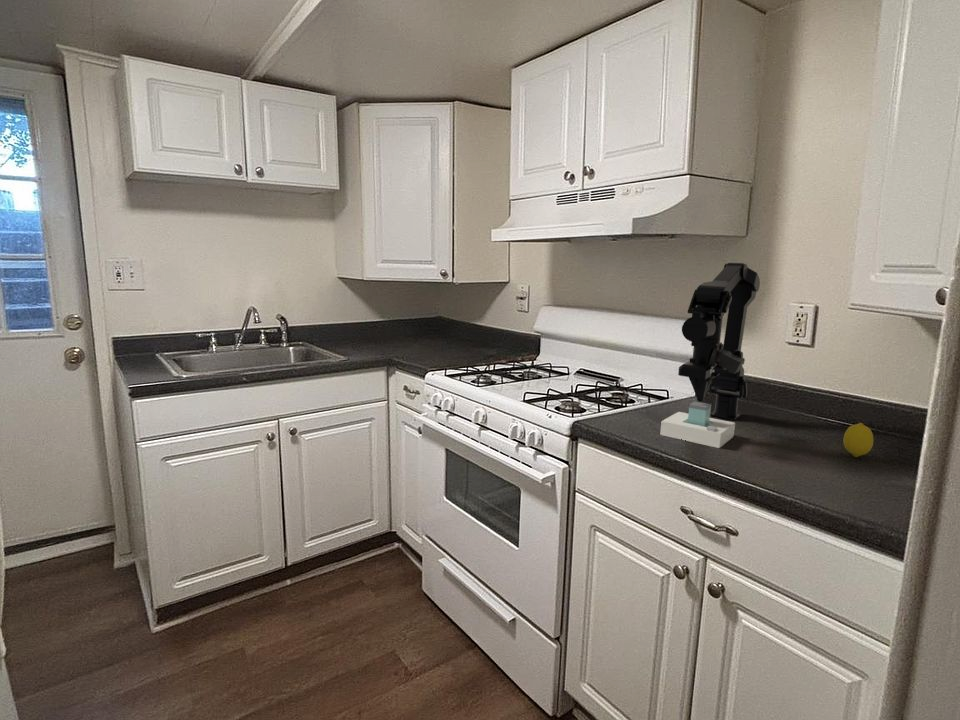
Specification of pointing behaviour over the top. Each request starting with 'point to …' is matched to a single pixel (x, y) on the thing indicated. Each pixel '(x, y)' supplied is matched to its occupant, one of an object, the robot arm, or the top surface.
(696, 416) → the plug
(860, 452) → the lemon
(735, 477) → the top surface
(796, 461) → the top surface
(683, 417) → the socket plate
